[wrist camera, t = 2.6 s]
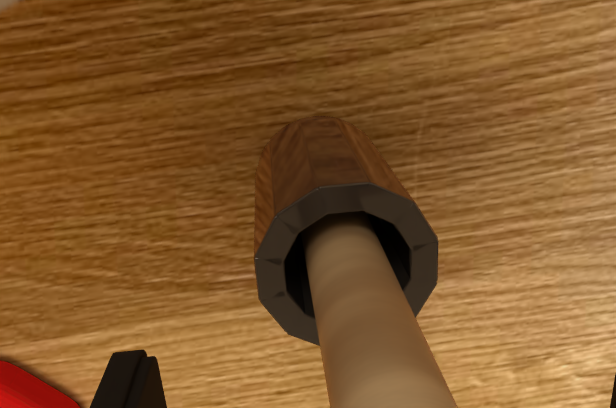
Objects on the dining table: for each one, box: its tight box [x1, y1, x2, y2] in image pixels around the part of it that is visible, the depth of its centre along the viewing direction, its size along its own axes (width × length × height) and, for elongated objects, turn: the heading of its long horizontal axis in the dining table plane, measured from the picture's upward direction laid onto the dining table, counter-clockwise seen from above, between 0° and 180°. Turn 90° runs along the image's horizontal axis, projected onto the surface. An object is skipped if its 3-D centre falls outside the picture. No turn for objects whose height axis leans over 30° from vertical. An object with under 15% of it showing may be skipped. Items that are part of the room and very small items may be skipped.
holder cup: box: [254, 116, 438, 346], centre depth 19 cm, size 5×5×8 cm
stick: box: [301, 211, 458, 408], centre depth 15 cm, size 2×2×15 cm
